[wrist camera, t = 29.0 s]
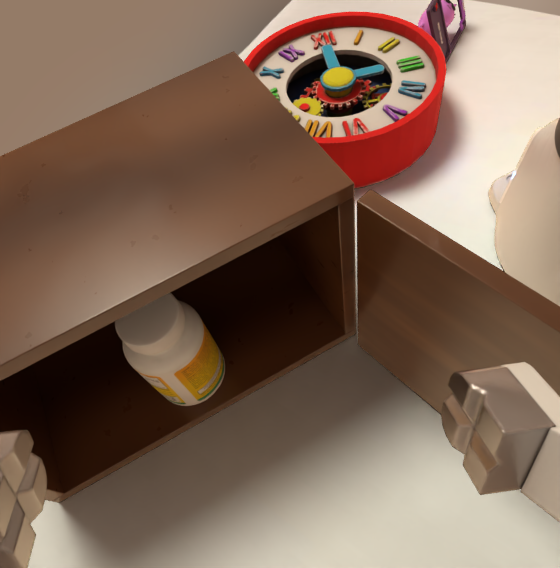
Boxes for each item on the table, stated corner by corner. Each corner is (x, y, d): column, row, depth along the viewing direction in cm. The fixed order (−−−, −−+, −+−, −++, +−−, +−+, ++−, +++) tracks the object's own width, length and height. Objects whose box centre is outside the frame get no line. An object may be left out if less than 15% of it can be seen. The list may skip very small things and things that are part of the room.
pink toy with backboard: (436, 7, 47) (463, -39, 50) (388, 18, 50) (416, -25, 54) (449, 69, 51) (472, 23, 55) (404, 75, 55) (429, 31, 58)
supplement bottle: (160, 414, 35) (100, 366, 27) (158, 349, 38) (103, 288, 30) (231, 399, 35) (191, 346, 27) (223, 334, 37) (186, 269, 29)
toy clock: (249, 165, 40) (226, 37, 51) (261, 209, 45) (238, 84, 56) (480, 113, 39) (408, -6, 50) (467, 164, 44) (404, 46, 55)
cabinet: (356, 333, 37) (354, 182, 23) (58, 503, 33) (-166, 451, 19) (274, 219, 44) (233, 50, 30) (22, 348, 41) (-160, 227, 26)
